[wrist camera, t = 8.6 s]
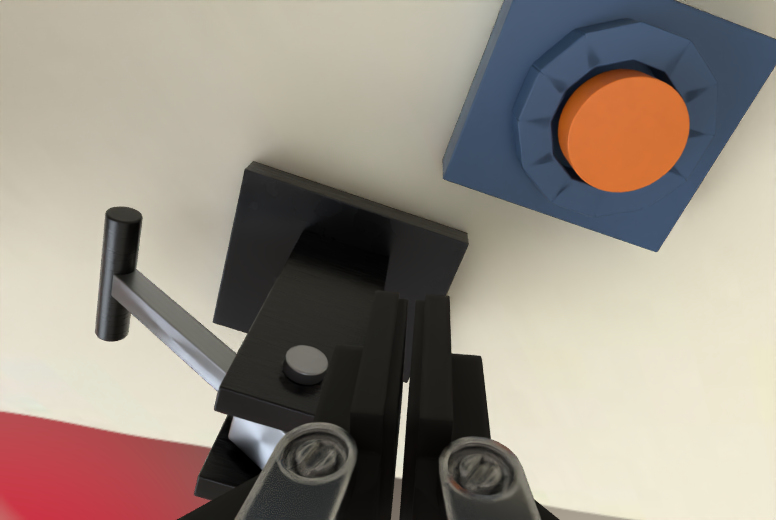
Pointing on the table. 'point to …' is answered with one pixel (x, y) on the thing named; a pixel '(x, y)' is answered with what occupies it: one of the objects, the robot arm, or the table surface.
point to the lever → (165, 322)
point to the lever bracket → (309, 298)
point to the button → (623, 130)
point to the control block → (574, 67)
